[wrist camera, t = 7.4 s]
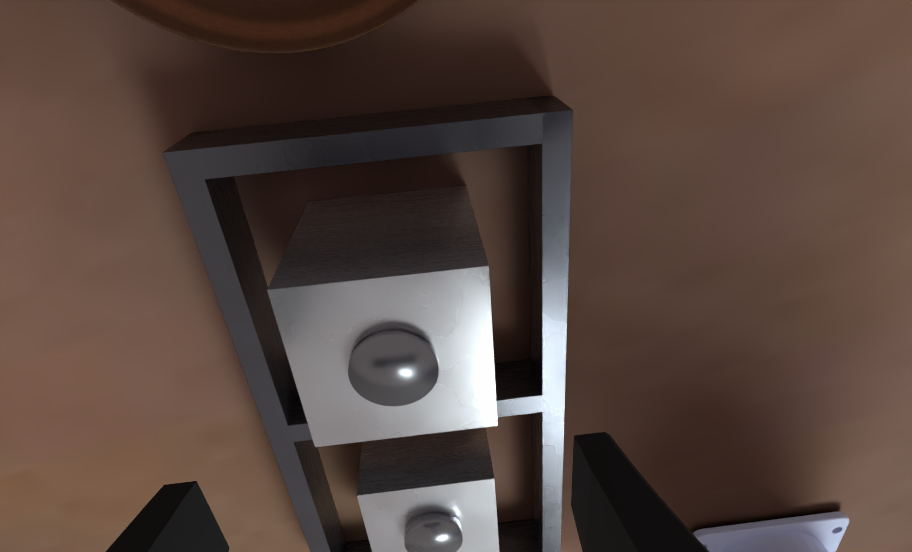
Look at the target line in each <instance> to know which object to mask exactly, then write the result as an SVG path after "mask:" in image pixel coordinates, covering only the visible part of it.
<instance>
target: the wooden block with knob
mask: <svg viewBox="0 0 912 552" xmlns="http://www.w3.org/2000/svg"><path fill="white" fill-rule="evenodd" d="M357 498H358V502H359V505H360V509H361V513H362V516H363V520H364V524H365V527H366V531H367V535H368V538H369V542H370V546H371V549H372V552H499V538H498V524H497V509H496V495H495V481H494V474H493V468H492V462H491V456H490V451H489V445H488V439H487V433H486V428H485V427H482V428H474V429H465V430H457V431H448V432H440V433H431V434H423V435H414V436H406V437H397V438H389V439H380V440H372V441H363V442H362V450H361V460H360V470H359V480H358V490H357Z"/></svg>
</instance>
